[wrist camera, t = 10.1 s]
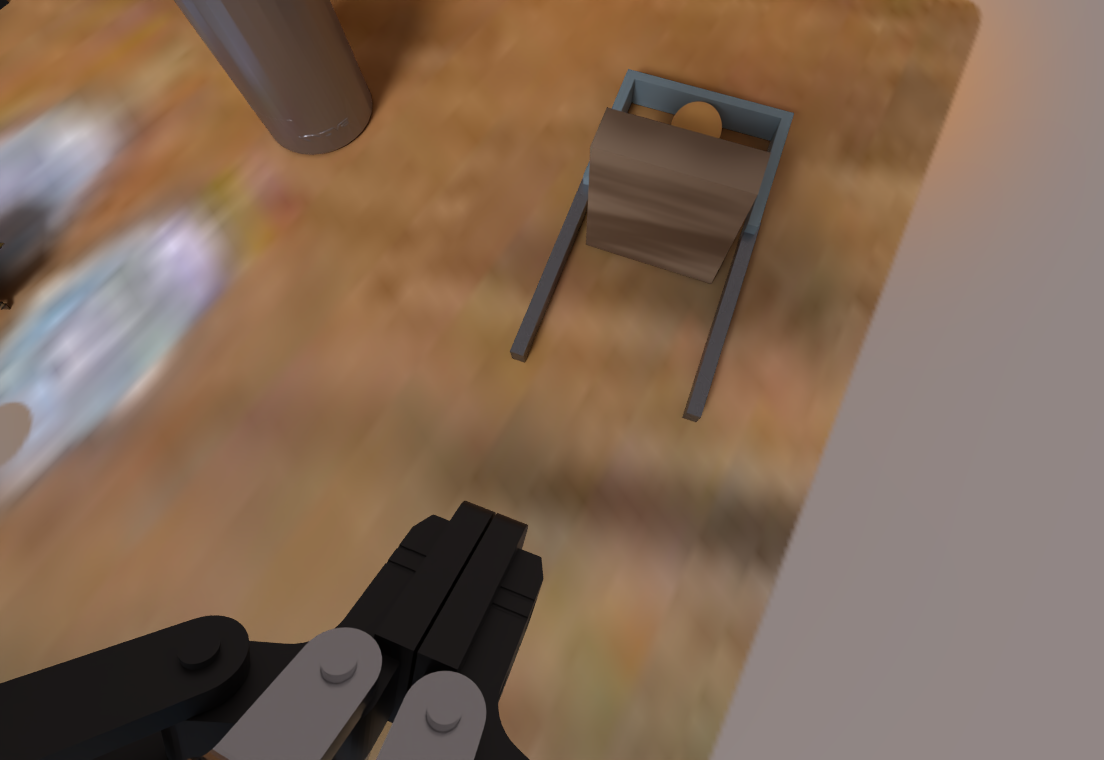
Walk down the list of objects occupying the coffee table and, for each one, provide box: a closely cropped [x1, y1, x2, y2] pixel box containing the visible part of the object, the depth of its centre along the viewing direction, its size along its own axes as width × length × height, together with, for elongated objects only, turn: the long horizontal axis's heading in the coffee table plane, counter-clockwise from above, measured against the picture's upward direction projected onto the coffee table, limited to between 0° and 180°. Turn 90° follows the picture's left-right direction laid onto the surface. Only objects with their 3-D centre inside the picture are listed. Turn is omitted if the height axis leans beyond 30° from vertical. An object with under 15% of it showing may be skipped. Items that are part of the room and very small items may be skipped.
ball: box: [671, 101, 722, 138], centre depth 44 cm, size 4×4×4 cm
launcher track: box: [510, 179, 761, 422], centre depth 41 cm, size 16×14×2 cm
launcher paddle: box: [586, 107, 771, 284], centre depth 38 cm, size 3×10×11 cm, turn 69°
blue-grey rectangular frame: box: [583, 69, 794, 242], centre depth 44 cm, size 11×14×2 cm
